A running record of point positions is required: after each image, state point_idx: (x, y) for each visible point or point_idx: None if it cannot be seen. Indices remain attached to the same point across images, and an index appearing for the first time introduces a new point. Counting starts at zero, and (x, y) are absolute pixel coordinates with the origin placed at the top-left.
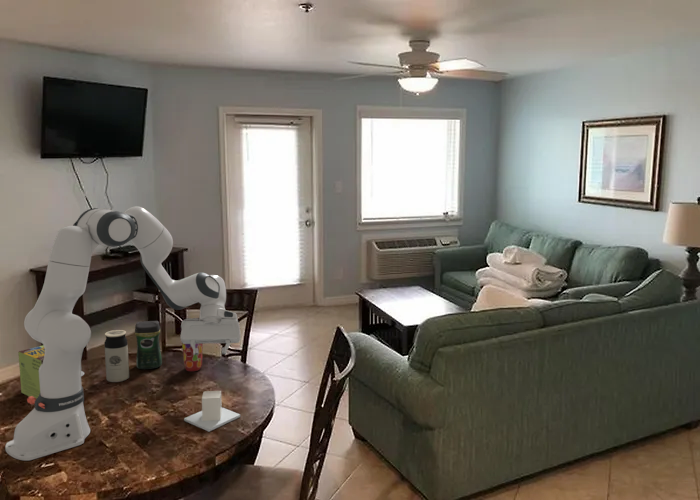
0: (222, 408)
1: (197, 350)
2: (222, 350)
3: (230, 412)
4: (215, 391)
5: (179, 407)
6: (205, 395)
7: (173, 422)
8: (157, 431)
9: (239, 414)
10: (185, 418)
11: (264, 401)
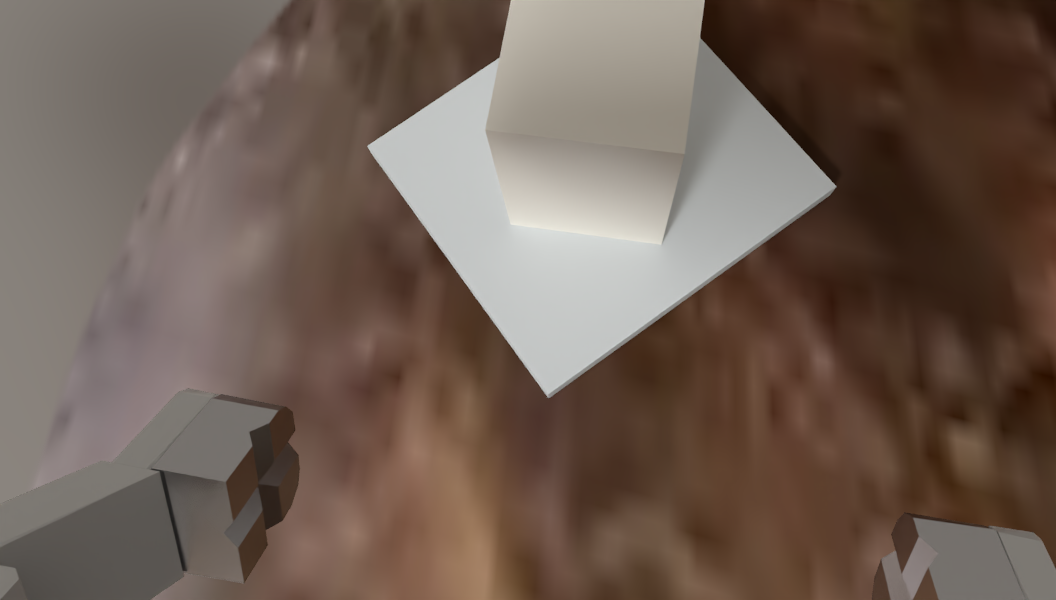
0: (495, 296)
1: (927, 573)
2: (252, 419)
3: (438, 202)
4: (550, 122)
5: (895, 485)
6: (666, 44)
7: (919, 186)
8: (1032, 64)
9: (373, 148)
10: (824, 179)
11: (108, 401)
